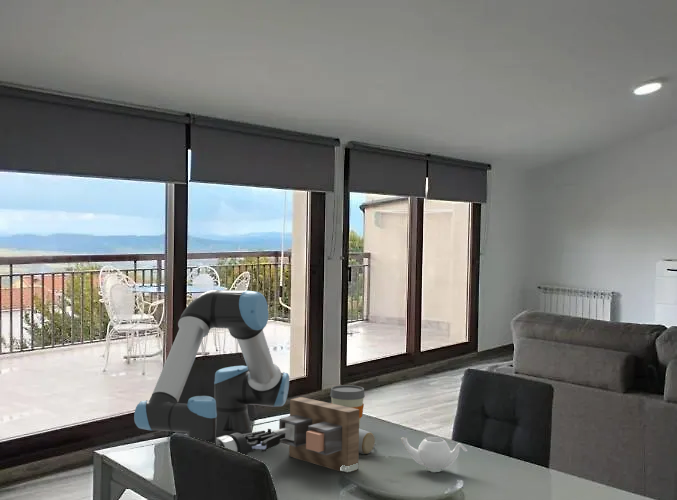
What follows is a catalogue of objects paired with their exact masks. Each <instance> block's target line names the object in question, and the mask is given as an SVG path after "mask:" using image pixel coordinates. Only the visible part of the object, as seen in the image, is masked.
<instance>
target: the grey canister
mask: <svg viewBox="0 0 677 500" xmlns="http://www.w3.org/2000/svg"><path fill="white" fill-rule="evenodd" d="M375 442H376V439H375V435H374V434H373V433H372V432H371V431H368V430H367V429H366V430H365V429H362V428H359V454H363V455H367V454H370V453H371V452H372V451H373V449H376V443H375Z"/></svg>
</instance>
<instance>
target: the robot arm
mask: <svg viewBox="0 0 677 500" xmlns="http://www.w3.org/2000/svg"><path fill="white" fill-rule="evenodd" d="M268 308H269V306H268V303H267V299H266V297H265V296H264V294H262V293H261V292H259V291H252V290H231V289H230V290H224V289H223V290H220V289H211V290H208V291H204V292H202V293H201V294H200V295H198V296H196V297H195V298H194V299H192V301H190V303H189V304H188V305H187V306H186V307H185V309H184V310H183V312H182V313H181V315H180V318H179V320H178V322H177V326H178V331H177V334H176V336H175V339H174V341H173V343H172V345H171V348H170V350H169V353H168V356H167V358H166V360H165V362H164V364H163V365H164V366H163V367H162V370H161V371H160V374H159V377H158V380H157V382H156V383H155V384H156V385H155V386H154V389H153V392H152V393H151V396H150V397H149V400H141V401H140V402H139V403H138V404H137V405H136V406H135V409H134V413H133V414H134V415H133V416H134V417H133V420H134V424H135V426H136V427H137V428H138V429H140V430H147V431H152V432H153V431H158V432H159V431H163V432H164V431H165V432H175V433H184V434H185V433H186V434H187V435H188V436H192V437H195V438H199V439H202V440H206V441H209V442H212V443H215V444H217V445H220V446H223V447H225V448H228V449H231V450H234V451H237V452H240V453H242V454H245V455H248V454H249V453H253V452H255V451H257V450H260V451H261V453H265V452H267V450H270V449H272V448H273V447H276V446H277V445H279V444H281V443H280V440H282V439H285V438H289V437H291V428H289V427H286V428H282V429H276V430H272V429H271V428H267V431H265V430H259V431H253V424H252V422H251V419H250V415H249V413H248V412H249V411H248V405H249V406H250V405H251V406H265V407H273V408H274V407H283V406H284V405H285V404H286V403H287V402H286V401H287V399H288V394H289V388H290V375H289V373H287V372H284V371H283V372H281V369H280V367H279V366H278V365H277V364H276V363H274V362H273V358H272V354H271V351H270V349H269V345H268V343H267V340H266V336H265V333H264V329H265V328H266V327H267V324H268V320H269V310H268ZM214 328H217V329H228V332H229V335H230V336H231V337H232V338H234V339H236V341H237V343H238V345H239V348H240V351H241V353H242V356H243V359H244V361H245V364H246V365H234V366H228V367H223V368H220V369H218V370H216V372H215V373H214V381H213V384H214V389H213V391H214V392H213V393H214V394H213V396H214V397H212V396H209V395H196V396H192V397H190V398H188V401H187V403H186V402H185V403H182V402H180V398H181V396H182V393H183V390H184V387H185V386H186V383H187V380H188V377H189V375H190V373H191V370H192V367H193V364H194V363H195V359H196V357H197V355H198V351H199V350H200V347H201V344H202V341H203V339H204V338H205V337H206V336H207V337H208V335H209V333H210V331H211V329H214ZM187 435H186V436H187Z"/></svg>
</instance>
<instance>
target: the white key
mask: <svg viewBox="0 0 677 500" xmlns="http://www.w3.org/2000/svg"><path fill="white" fill-rule="evenodd" d="M286 427H289V428H291V437H289V438H285V439H289V440H292V441H294V427H295V425H292V424H288V423H285V428H286Z"/></svg>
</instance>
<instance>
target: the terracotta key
mask: <svg viewBox="0 0 677 500" xmlns="http://www.w3.org/2000/svg"><path fill="white" fill-rule="evenodd" d="M306 449H309V450H312V451H316V452H321V451H324V432H320V431H316V430H310V431H307V432H306Z"/></svg>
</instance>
